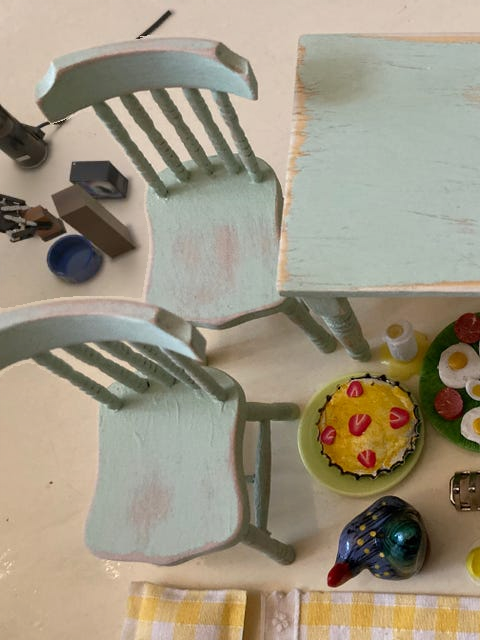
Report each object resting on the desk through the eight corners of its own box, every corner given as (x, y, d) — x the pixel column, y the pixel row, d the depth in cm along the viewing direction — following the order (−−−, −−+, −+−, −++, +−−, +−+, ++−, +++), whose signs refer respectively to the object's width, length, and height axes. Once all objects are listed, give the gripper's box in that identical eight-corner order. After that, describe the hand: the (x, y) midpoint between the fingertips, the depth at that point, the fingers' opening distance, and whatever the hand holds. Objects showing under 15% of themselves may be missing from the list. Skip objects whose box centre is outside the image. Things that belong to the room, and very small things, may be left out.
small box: (89, 201, 196) (67, 181, 186) (92, 180, 198) (70, 160, 187) (126, 199, 196) (106, 180, 185) (129, 179, 197) (109, 158, 187)
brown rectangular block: (104, 238, 192) (50, 195, 169) (127, 228, 193) (77, 183, 170) (112, 259, 190) (59, 217, 167) (136, 247, 191) (86, 205, 168)
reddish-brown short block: (40, 230, 179) (17, 213, 171) (62, 220, 180) (40, 203, 171) (45, 242, 178) (22, 226, 170) (67, 232, 179) (45, 216, 170)
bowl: (68, 237, 193) (58, 229, 188) (109, 247, 191) (100, 240, 187) (49, 277, 189) (38, 270, 185) (90, 288, 188) (81, 281, 184)
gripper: (-21, 231, 158) (62, 231, 171) (-38, 182, 161) (44, 187, 174) (-26, 251, 162) (55, 250, 175) (-43, 203, 166) (38, 206, 179)
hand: (49, 218), depth 175 cm, fingers closed on reddish-brown short block, 3 cm apart
